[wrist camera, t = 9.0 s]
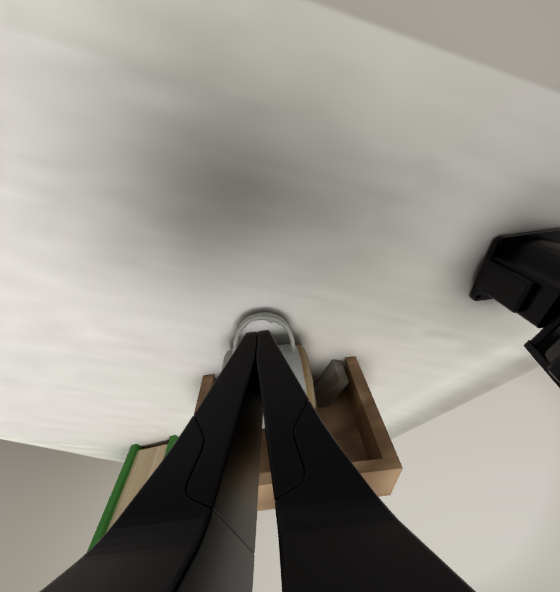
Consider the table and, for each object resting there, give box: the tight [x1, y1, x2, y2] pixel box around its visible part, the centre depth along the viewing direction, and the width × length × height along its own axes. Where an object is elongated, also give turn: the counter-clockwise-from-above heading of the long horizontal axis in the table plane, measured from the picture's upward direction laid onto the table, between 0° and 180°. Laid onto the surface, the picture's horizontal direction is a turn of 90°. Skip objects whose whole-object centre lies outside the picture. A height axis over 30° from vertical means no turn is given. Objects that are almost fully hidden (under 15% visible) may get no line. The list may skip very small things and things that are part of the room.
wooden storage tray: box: [194, 357, 403, 511], centre depth 25 cm, size 18×6×11 cm, turn 96°
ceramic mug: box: [222, 312, 316, 429], centre depth 23 cm, size 11×8×8 cm
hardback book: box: [87, 435, 179, 552], centre depth 31 cm, size 18×7×24 cm, turn 17°
